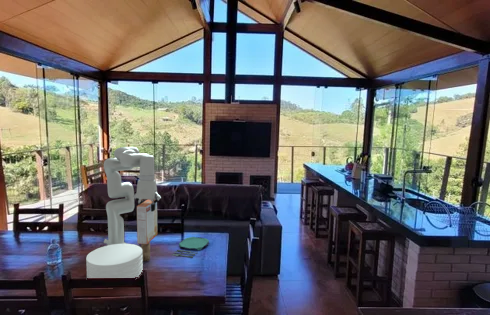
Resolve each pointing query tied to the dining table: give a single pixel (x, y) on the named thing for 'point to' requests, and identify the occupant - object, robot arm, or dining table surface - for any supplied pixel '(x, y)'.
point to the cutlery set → (192, 245)
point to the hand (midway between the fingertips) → (147, 210)
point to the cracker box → (146, 222)
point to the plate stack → (115, 261)
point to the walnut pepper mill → (146, 251)
